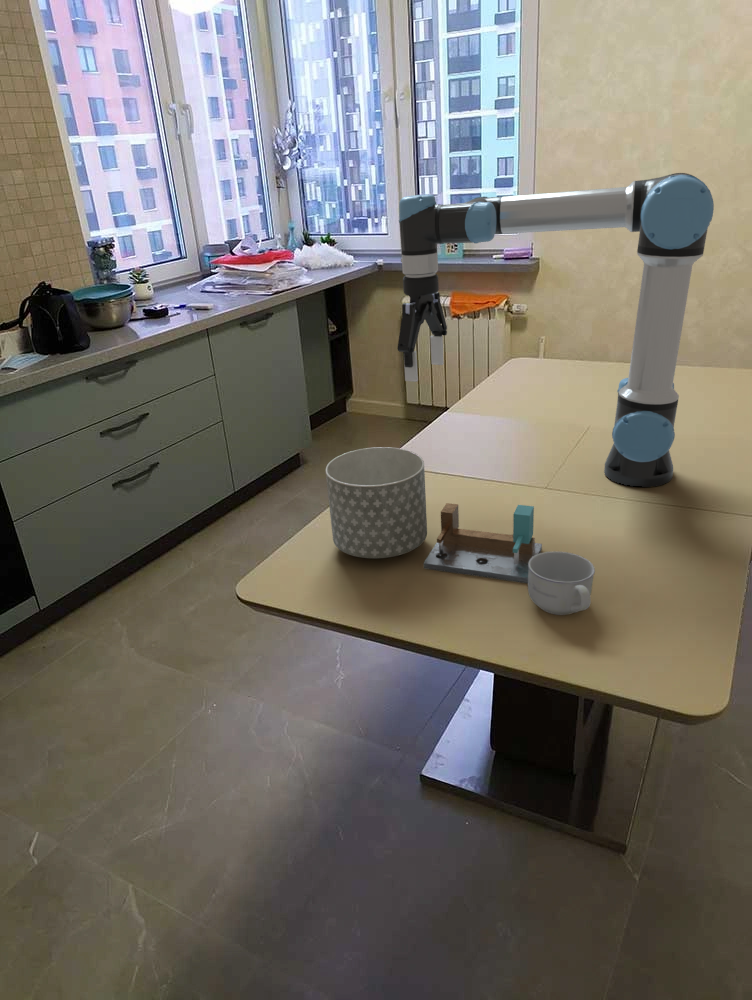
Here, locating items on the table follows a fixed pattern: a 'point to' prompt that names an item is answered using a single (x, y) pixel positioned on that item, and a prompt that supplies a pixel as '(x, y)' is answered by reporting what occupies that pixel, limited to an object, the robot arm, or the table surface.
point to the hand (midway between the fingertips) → (425, 372)
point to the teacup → (560, 582)
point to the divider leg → (522, 528)
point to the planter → (377, 501)
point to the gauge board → (478, 551)
